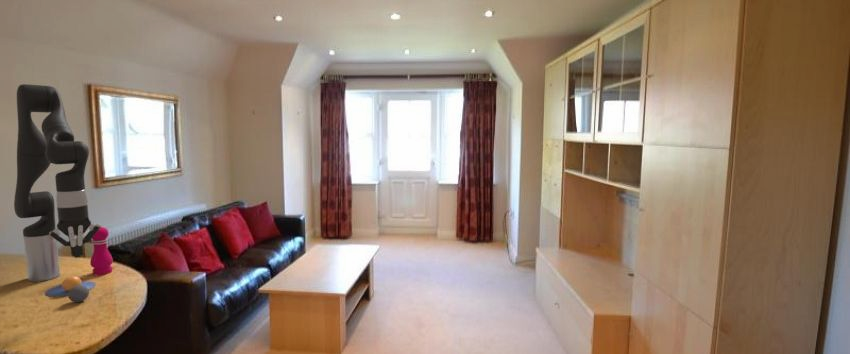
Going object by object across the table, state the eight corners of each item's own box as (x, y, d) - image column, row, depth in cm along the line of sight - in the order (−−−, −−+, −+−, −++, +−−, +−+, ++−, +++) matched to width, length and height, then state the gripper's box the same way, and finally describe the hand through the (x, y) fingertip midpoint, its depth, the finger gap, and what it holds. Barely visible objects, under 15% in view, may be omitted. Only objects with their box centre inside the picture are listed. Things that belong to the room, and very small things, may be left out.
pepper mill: (101, 276, 170) (97, 226, 167) (86, 274, 171) (81, 225, 168) (118, 270, 177) (114, 222, 174) (103, 268, 178) (99, 220, 175)
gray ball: (66, 292, 142) (67, 306, 143) (88, 290, 145) (88, 304, 146) (69, 282, 146) (69, 296, 148) (89, 281, 149) (89, 294, 151)
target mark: (38, 291, 154) (38, 290, 154) (84, 279, 166) (84, 278, 166) (55, 299, 147) (55, 299, 147) (102, 286, 159) (102, 286, 159)
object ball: (61, 286, 150) (60, 295, 152) (81, 285, 153) (80, 294, 156) (62, 273, 153) (62, 282, 156) (82, 272, 156) (82, 281, 159)
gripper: (95, 200, 145) (99, 250, 148) (43, 205, 136) (48, 258, 138) (100, 203, 140) (104, 255, 143) (46, 209, 131) (52, 264, 133)
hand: (77, 256), depth 140 cm, fingers closed
